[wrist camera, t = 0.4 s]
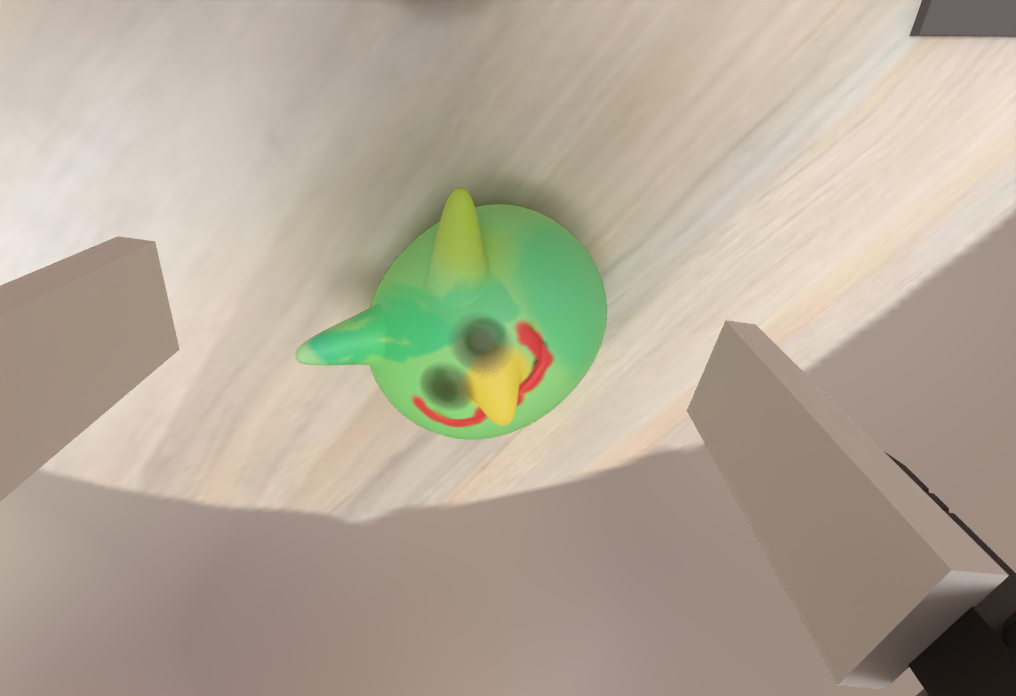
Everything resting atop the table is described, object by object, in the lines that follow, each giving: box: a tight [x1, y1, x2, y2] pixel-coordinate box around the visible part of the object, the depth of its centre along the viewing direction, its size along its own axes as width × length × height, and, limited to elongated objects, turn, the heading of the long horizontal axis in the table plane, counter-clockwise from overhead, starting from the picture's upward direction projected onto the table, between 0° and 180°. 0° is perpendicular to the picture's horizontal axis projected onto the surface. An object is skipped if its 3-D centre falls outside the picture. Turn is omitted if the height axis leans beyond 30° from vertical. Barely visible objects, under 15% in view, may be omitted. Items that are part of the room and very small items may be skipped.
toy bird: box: [296, 188, 607, 440], centre depth 34 cm, size 18×17×15 cm
